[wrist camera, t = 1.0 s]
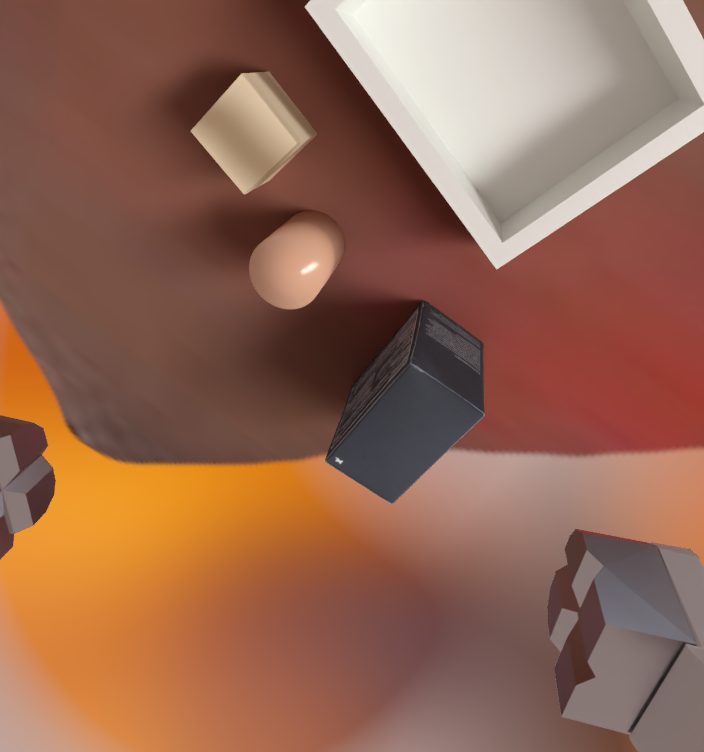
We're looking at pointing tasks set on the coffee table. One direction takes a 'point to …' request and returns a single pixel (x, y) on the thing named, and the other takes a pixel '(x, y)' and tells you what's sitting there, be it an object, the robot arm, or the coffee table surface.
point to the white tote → (526, 99)
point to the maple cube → (253, 130)
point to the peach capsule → (297, 260)
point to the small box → (410, 404)
